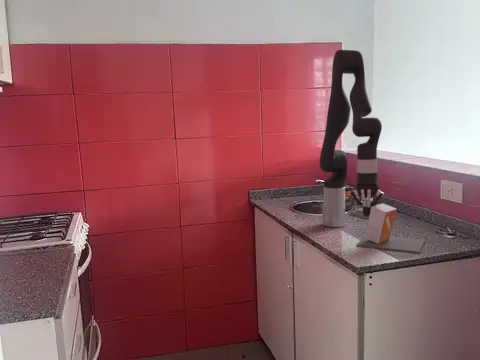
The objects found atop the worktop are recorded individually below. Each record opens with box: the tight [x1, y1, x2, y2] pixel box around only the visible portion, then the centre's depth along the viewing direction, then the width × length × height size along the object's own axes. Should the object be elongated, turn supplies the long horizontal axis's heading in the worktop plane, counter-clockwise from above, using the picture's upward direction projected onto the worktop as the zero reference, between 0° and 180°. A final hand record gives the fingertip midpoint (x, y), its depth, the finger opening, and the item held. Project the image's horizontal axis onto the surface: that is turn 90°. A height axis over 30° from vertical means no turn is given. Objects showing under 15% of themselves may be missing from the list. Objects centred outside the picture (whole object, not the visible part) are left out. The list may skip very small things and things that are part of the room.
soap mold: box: [348, 207, 397, 220], centre depth 213 cm, size 10×20×4 cm, turn 30°
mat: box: [356, 235, 426, 254], centre depth 170 cm, size 22×16×1 cm
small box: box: [364, 203, 398, 244], centre depth 170 cm, size 8×6×13 cm
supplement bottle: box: [345, 186, 352, 211], centre depth 232 cm, size 6×6×11 cm
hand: (367, 216), depth 172 cm, fingers closed
